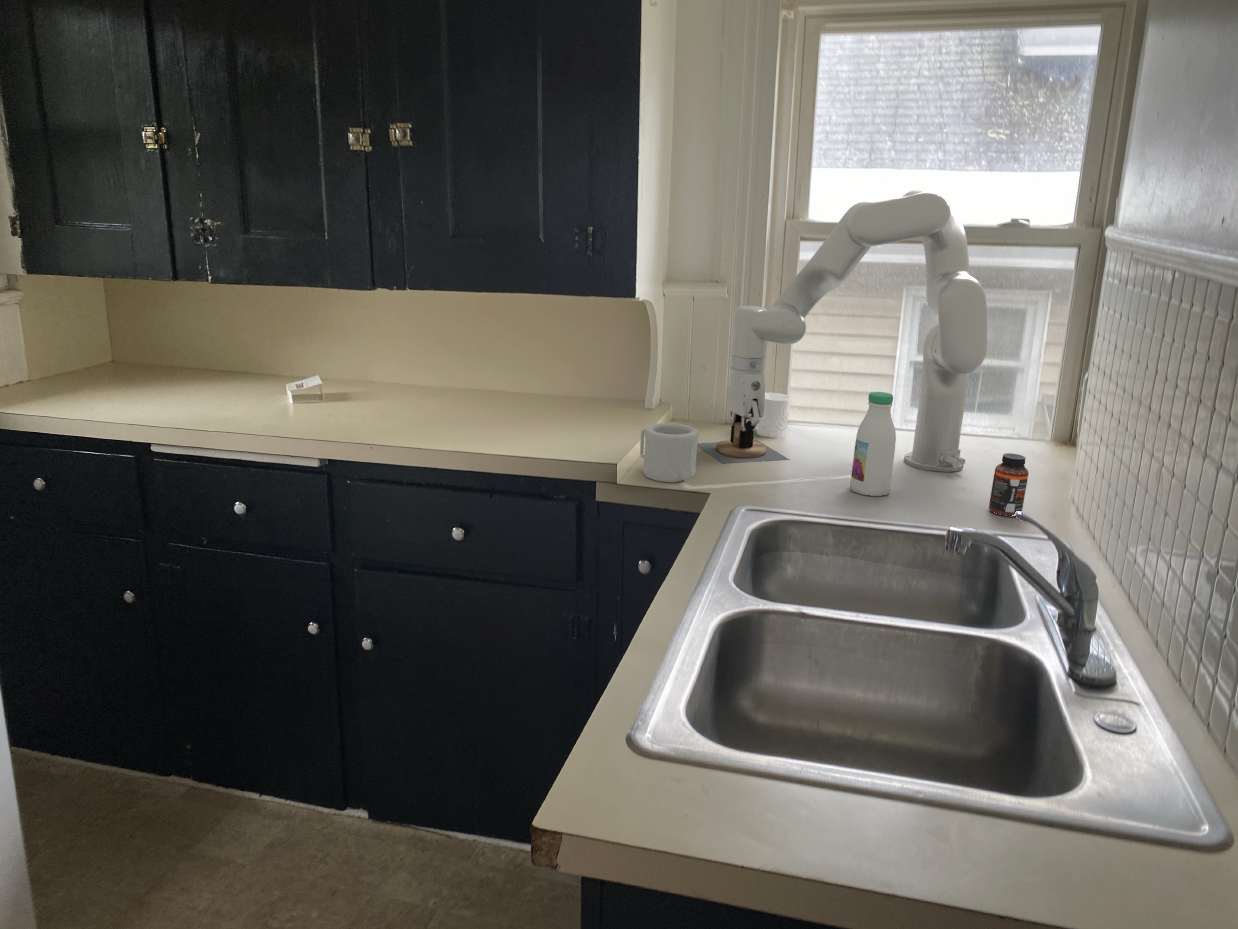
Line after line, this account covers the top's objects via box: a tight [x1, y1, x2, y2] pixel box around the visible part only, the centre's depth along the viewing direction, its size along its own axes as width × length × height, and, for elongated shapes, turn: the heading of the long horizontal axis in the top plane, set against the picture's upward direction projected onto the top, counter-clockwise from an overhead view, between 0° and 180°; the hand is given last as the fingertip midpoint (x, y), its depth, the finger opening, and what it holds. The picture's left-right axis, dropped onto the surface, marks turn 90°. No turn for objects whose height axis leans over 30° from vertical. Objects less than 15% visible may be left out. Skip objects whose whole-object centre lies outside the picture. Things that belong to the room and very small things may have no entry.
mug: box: [639, 422, 699, 484], centre depth 197 cm, size 14×11×10 cm
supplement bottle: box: [988, 452, 1029, 518], centre depth 181 cm, size 6×6×11 cm
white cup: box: [756, 392, 792, 439], centre depth 229 cm, size 8×8×10 cm
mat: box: [697, 439, 791, 465], centre depth 214 cm, size 16×16×1 cm
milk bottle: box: [850, 391, 897, 497], centre depth 190 cm, size 8×8×20 cm
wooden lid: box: [716, 422, 767, 458], centre depth 213 cm, size 11×11×6 cm
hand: (741, 444), depth 214 cm, fingers closed on wooden lid, 3 cm apart
